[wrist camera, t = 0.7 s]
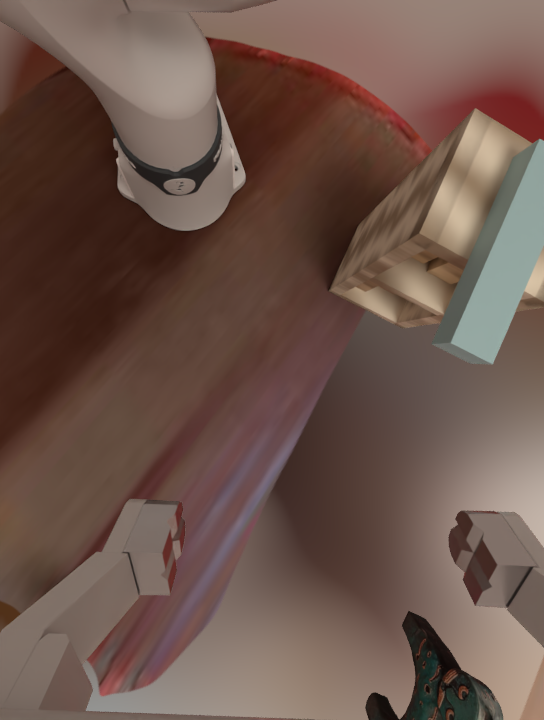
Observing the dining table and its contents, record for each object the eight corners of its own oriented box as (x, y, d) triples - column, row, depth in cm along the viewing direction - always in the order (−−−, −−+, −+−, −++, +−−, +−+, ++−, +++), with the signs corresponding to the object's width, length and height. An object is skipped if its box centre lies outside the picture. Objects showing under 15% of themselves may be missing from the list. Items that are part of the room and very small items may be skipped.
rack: (358, 224, 55) (475, 108, 29) (431, 263, 56) (602, 186, 31) (328, 291, 54) (419, 233, 28) (402, 328, 56) (551, 306, 30)
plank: (513, 157, 29) (539, 138, 27) (549, 179, 30) (579, 163, 27) (431, 343, 29) (450, 342, 26) (470, 363, 29) (492, 364, 27)
